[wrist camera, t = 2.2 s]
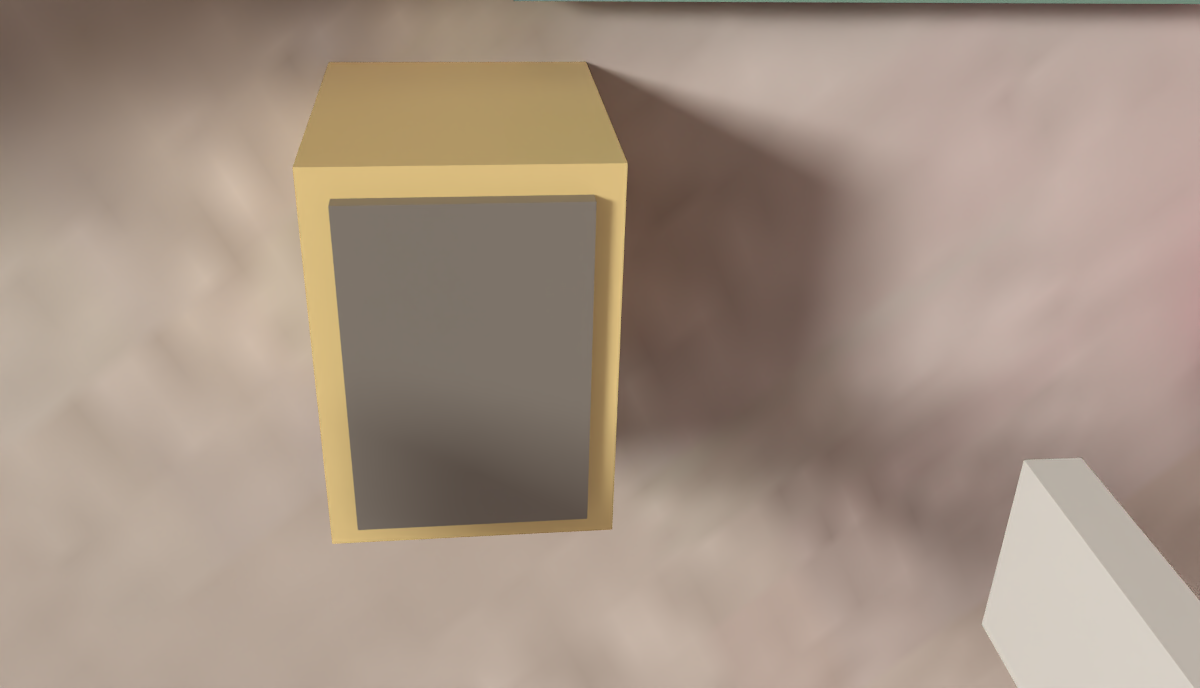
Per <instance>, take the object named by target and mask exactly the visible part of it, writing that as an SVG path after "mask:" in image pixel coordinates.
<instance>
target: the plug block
mask: <svg viewBox="0 0 1200 688" xmlns="http://www.w3.org/2000/svg"><path fill="white" fill-rule="evenodd" d="M627 167H628V163H627V160H626V158H625V156H624V153H623V151H622V148H621V146H620V143H619V141H618V139H617V136H616V134H615V131H614V129H613V126H612V124H611V121H610V119H609V117H608V114H607V112H606V109H605V107H604V104H603V102H602V100H601V97H600V95H599V92H598V90H597V87H596V85H595V83H594V80H593V78H592V75H591V73H590V70H589V68H588V66H587V63H586V62H329V63H328V66H327V69H326V72H325V75H324V78H323V80H322V83H321V86H320V89H319V92H318V95H317V98H316V101H315V104H314V107H313V110H312V112H311V115H310V118H309V121H308V124H307V127H306V130H305V133H304V136H303V139H302V141H301V144H300V147H299V150H298V153H297V156H296V159H295V162H294V165H293V177H294V186H295V195H296V205H297V214H298V224H299V233H300V243H301V252H302V262H303V271H304V281H305V290H306V299H307V309H308V318H309V328H310V337H311V347H312V356H313V366H314V375H315V385H316V394H317V403H318V413H319V422H320V432H321V441H322V451H323V460H324V470H325V479H326V488H327V498H328V507H329V517H330V526H331V536H332V544H336V543H355V542H375V541H395V540H414V539H434V538H454V537H473V536H493V535H512V534H532V533H552V532H571V531H591V530H610V529H612V519H613V496H614V472H615V449H616V425H617V402H618V378H619V355H620V331H621V308H622V284H623V261H624V237H625V214H626V191H627Z"/></svg>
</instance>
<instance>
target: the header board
mask: <svg viewBox="0 0 1200 688" xmlns="http://www.w3.org/2000/svg"><path fill="white" fill-rule="evenodd" d="M514 1H636V2H864V3H1092V4H1200V0H514Z"/></svg>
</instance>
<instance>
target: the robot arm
mask: <svg viewBox="0 0 1200 688" xmlns="http://www.w3.org/2000/svg"><path fill="white" fill-rule="evenodd" d="M982 626H983V627H984V629H985V631H986V633H987V635H988V636H989V638H990V640H991V642H992V643H993V645H994V647H995V649H996V650H997V652H998V654H999V656H1000V657H1001V659H1002V661H1003V663H1004V665H1005V666H1006V668H1007V670H1008V672H1009V673H1010V675H1011V677H1012V679H1013V680H1014V682H1015V684H1016V686H1017V688H1200V600H1199V599H1198V598H1197V597H1196V596H1195V594H1194V593H1193V592H1192V591H1191V590H1190V588H1189V587H1188V586H1187V585H1186V584H1185V582H1184V581H1183V580H1182V579H1181V577H1180V576H1179V575H1178V574H1177V573H1176V571H1175V570H1174V569H1173V568H1172V567H1171V565H1170V564H1169V563H1168V562H1167V561H1166V559H1165V558H1164V557H1163V556H1162V554H1161V553H1160V552H1159V551H1158V550H1157V548H1156V547H1155V546H1154V545H1153V544H1152V542H1151V541H1150V540H1149V539H1148V538H1147V536H1146V535H1145V534H1144V533H1143V532H1142V530H1141V529H1140V528H1139V527H1138V525H1137V524H1136V523H1135V522H1134V521H1133V519H1132V518H1131V517H1130V516H1129V515H1128V513H1127V512H1126V511H1125V510H1124V509H1123V507H1122V506H1121V505H1120V504H1119V502H1118V501H1117V500H1116V499H1115V498H1114V496H1113V495H1112V494H1111V493H1110V492H1109V490H1108V489H1107V488H1106V487H1105V486H1104V484H1103V483H1102V482H1101V481H1100V479H1099V478H1098V477H1097V476H1096V475H1095V473H1094V472H1093V471H1092V470H1091V469H1090V467H1089V466H1088V465H1087V464H1086V463H1085V461H1084V460H1083V459H1082V458H1060V459H1033V460H1024V462H1023V465H1022V469H1021V473H1020V477H1019V481H1018V485H1017V489H1016V493H1015V497H1014V501H1013V505H1012V508H1011V512H1010V516H1009V520H1008V524H1007V528H1006V532H1005V536H1004V540H1003V544H1002V547H1001V551H1000V555H999V559H998V563H997V567H996V571H995V575H994V579H993V583H992V587H991V590H990V594H989V598H988V602H987V606H986V610H985V614H984V618H983V622H982Z"/></svg>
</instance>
